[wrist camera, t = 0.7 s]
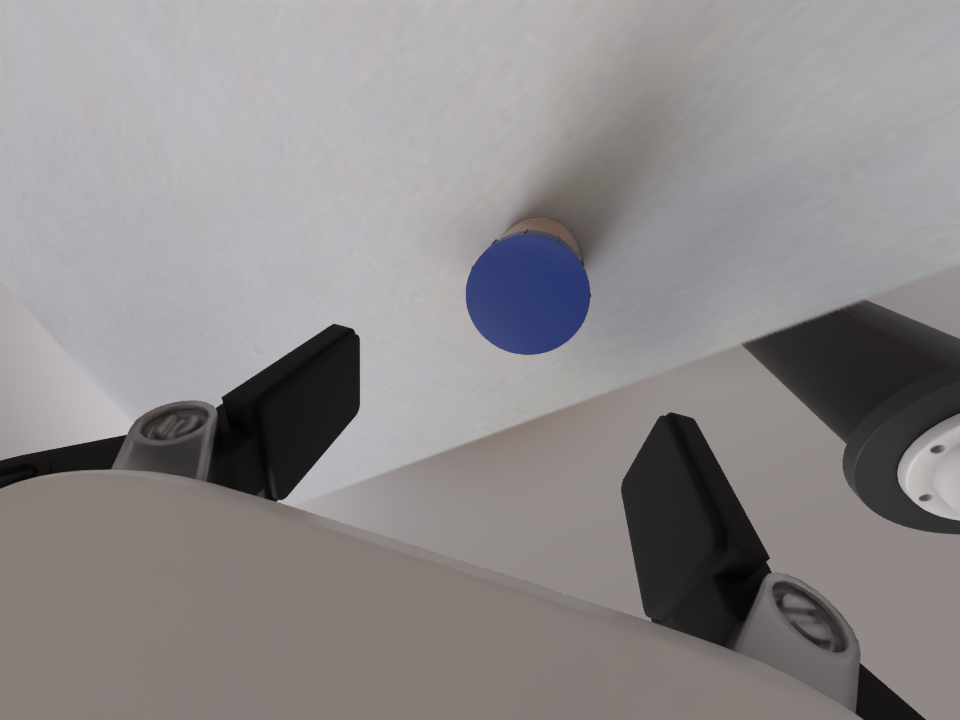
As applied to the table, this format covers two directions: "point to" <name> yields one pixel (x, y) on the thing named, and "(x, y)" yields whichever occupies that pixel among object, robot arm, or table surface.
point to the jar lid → (528, 292)
